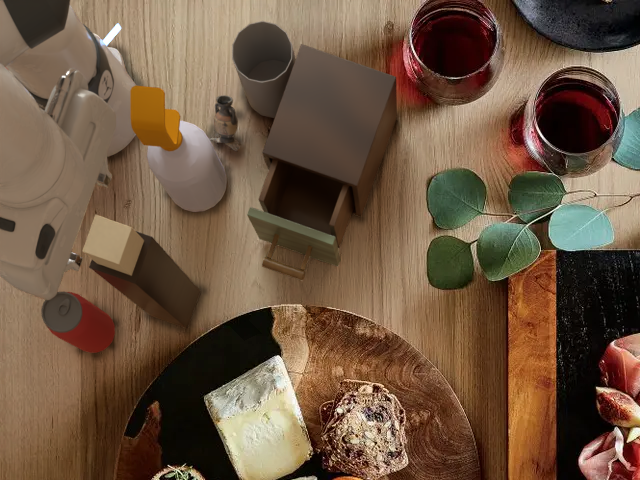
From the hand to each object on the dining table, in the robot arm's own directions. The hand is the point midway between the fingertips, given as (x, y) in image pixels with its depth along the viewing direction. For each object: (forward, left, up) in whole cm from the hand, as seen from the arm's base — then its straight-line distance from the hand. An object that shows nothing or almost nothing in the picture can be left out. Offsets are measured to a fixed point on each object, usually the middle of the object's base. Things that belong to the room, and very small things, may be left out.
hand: (89, 221), depth 88 cm
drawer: (+15, +18, -33) cm, 40 cm away
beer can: (-10, -8, -34) cm, 37 cm away
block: (0, 0, -10) cm, 10 cm away
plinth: (0, 0, -34) cm, 34 cm away
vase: (-1, +27, -34) cm, 44 cm away
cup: (+3, +35, -34) cm, 49 cm away
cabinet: (+15, +29, -34) cm, 47 cm away
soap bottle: (-3, +18, -34) cm, 39 cm away
